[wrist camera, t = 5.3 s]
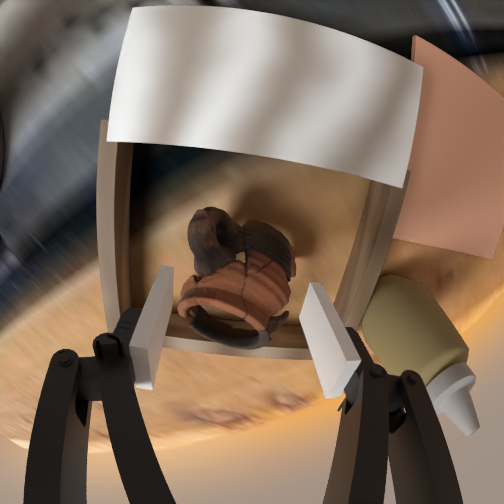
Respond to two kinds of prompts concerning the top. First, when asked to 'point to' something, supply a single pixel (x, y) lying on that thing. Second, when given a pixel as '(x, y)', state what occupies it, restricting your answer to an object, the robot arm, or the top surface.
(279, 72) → the cold frame
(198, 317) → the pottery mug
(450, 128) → the mat
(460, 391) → the squeeze bottle
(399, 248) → the top surface
